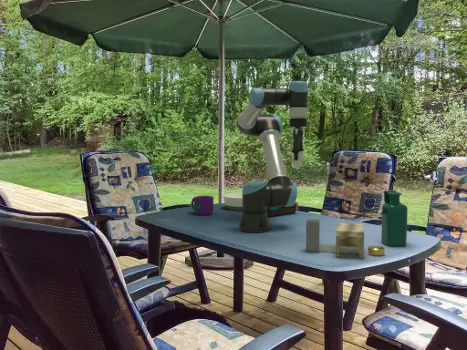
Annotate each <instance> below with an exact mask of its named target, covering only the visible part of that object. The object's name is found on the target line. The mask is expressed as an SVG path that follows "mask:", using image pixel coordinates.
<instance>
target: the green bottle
mask: <svg viewBox="0 0 467 350" xmlns="http://www.w3.org/2000/svg"><path fill="white" fill-rule="evenodd" d="M402 195H403V194H402V192H398V191H397V190H395V189H394V190H383V200H384V201H383V202H384V203H383V204H382V208H381V239H380V241H381V243H382V244H384V245H386V246H387V247H391V248H392V247H405V246H407V239H408V238H407V235H408V234H407V233H408V211H409V210H408V209H409V208H408V206H407V204H404V203H402V202H401V201H400V200H401V198H400V197H401V196H402Z"/></svg>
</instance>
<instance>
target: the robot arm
mask: <svg viewBox="0 0 467 350" xmlns="http://www.w3.org/2000/svg"><path fill="white" fill-rule="evenodd" d="M308 90H309V89H308V83H307V81H303V80H295V81H291V82H290V83H289V88H286V87H285V88H282V87H281V88H279V87H277V88H275V87H270V88H269V87H253V88H251V89H250V91H249V96H248V97H249V103H247V104H248V105H247V106H246V107H245V109H244V110H243V111H241V112H240V113H239V114H238V115H237V117H236V119H235V120H236V121H235V124H236V128H237V129H238V131H239V132H240V133H242V134H243V135H244V136H249V137H257V139H258V141H259V142H260V143H261V144H262V149H263V155H264V159H265V164H266V168H267V173H268V178H269V179H267V181H266V180H252V181H249V182H245V183H244V184H243V186H242V192H241V193H242V209H243V211H241V212H242V214H241V217H240V220H239V223H238V230H239V231H240V232H243V233H244V232H245V233H251V234H254V233H256V234H257V233H265V232H269V231H270V230H271V223H270V221H269V217H267V213H266V209H267V207H287V206H293V205H294V203H295V202H297V197H298V196H297V195H298V186H297V184H296V182H294V181H293V182H291V181H292V180H291V177H289V176H288V175H287V173H286V169H285V163H284V159H283V155H282V151H281V145H280V142H279V139H280V137H281V134H282V132H283V123H282V119H281V118H280V115H277V114H276V113H275V114H272V113H268V114H265V113H264V114H262V113H263V111H264V110H265V109H266V107H267V106H285V107H289V111H288V112H289V113H288V115H289V118H290V119H288V120H289V121H288V122H289V124H288V127H289V128H294V129H292V130H293V131H292V136H293V137H292V140H293V141H292V150H291V152H290V153H291V154H292V169H300V167H303V152H305V149H304V145H303V141H304V140H303V136H304V131H303V129H302V128H306V127H308V119H307V117H308V113H309V109H308Z"/></svg>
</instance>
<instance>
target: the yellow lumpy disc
mask: <svg viewBox="0 0 467 350" xmlns="http://www.w3.org/2000/svg"><path fill="white" fill-rule="evenodd" d="M367 255H369V256H372V257H384V256H385V247H383V246H379V245H371V246H367Z"/></svg>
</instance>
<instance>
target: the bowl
mask: <svg viewBox="0 0 467 350" xmlns="http://www.w3.org/2000/svg"><path fill="white" fill-rule="evenodd" d="M222 197H223V201H224V204H225V206H226V208H227V210H229V211H234V212H235V211H236V212H243V209H242V192H231V193H226V194H224V195H223V196H222Z"/></svg>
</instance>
